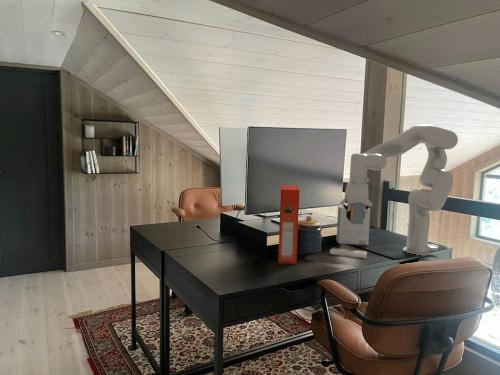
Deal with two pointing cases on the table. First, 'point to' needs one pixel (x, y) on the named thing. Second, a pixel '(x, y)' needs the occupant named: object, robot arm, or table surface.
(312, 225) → the canister
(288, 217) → the file binder
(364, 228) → the hard drive box
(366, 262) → the table surface
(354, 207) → the carton
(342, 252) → the shelf board
